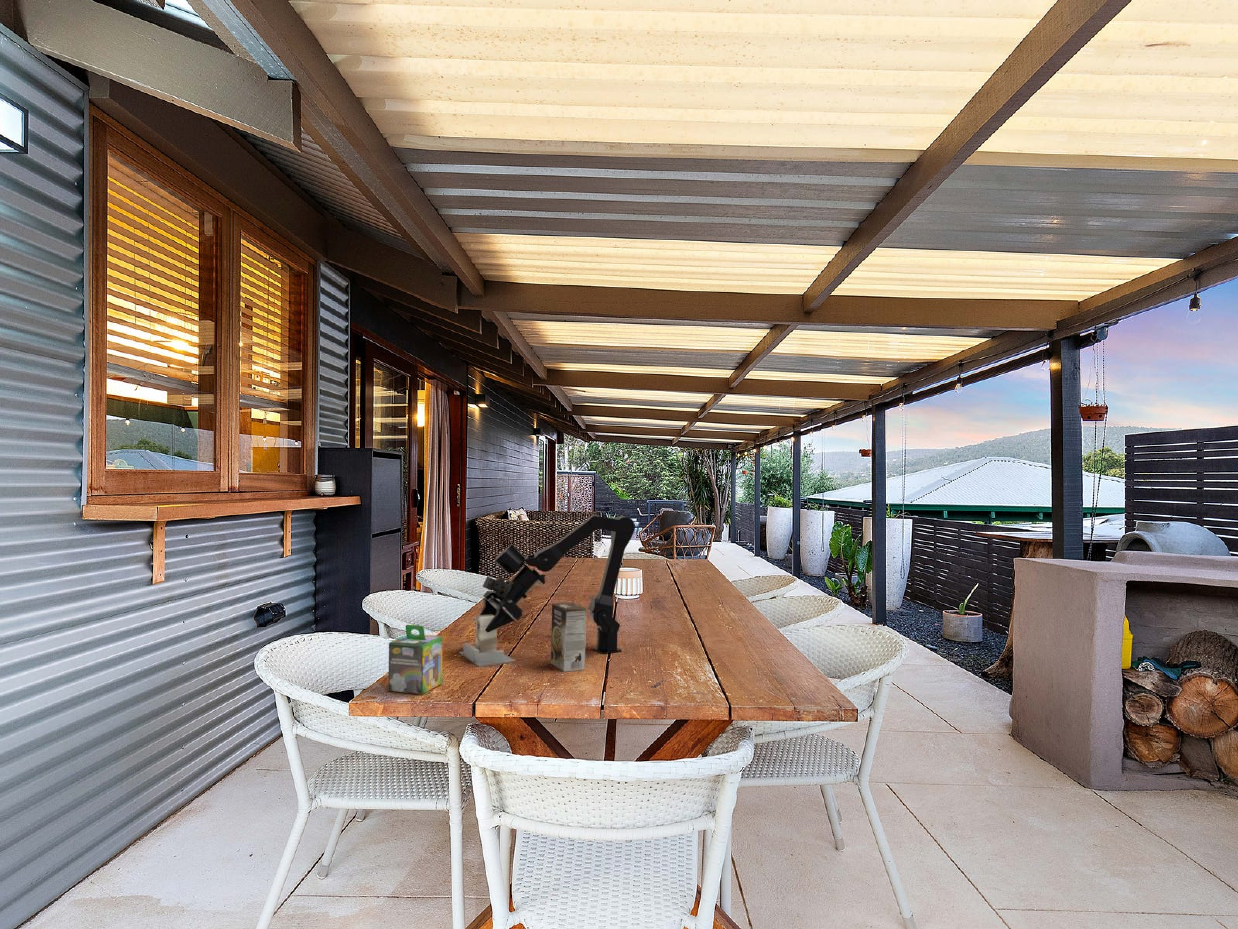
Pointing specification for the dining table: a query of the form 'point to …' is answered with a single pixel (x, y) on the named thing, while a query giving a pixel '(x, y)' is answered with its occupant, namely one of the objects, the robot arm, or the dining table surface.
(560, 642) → the coffee box
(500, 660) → the keeper bracket
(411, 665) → the chalk box
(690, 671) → the dining table surface
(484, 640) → the link block
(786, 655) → the dining table surface
